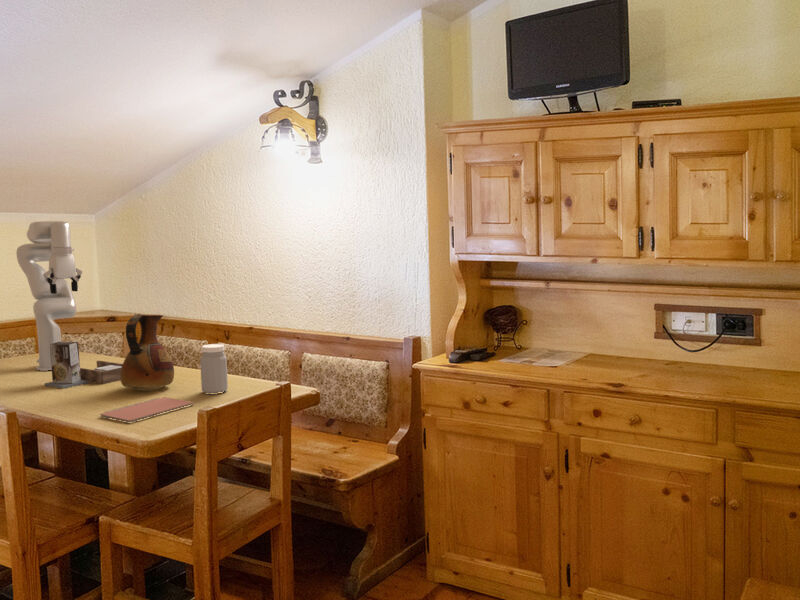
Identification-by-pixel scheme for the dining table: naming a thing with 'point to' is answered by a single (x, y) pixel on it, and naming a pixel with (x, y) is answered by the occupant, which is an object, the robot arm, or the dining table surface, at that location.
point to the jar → (213, 369)
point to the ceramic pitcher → (146, 357)
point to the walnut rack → (102, 373)
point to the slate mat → (66, 384)
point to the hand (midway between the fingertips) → (64, 292)
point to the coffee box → (65, 362)
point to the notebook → (145, 409)
